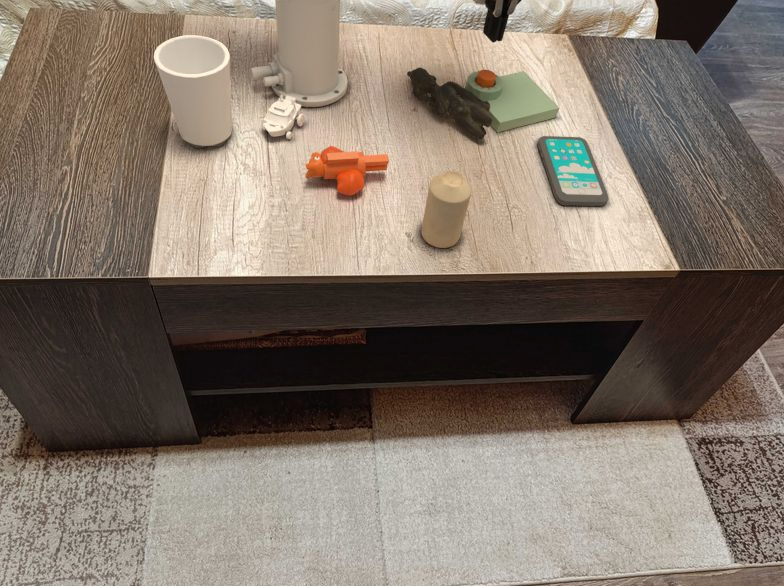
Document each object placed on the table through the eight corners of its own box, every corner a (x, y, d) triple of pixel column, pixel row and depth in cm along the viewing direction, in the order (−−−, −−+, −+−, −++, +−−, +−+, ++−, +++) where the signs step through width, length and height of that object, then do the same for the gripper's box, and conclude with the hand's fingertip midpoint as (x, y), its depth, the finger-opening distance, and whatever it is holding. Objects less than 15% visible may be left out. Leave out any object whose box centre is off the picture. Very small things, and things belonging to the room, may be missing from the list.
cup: (198, 165, 89) (181, 85, 79) (159, 130, 93) (138, 49, 82) (253, 138, 94) (245, 59, 83) (214, 106, 97) (201, 26, 87)
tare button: (482, 90, 102) (484, 81, 100) (472, 79, 103) (474, 71, 102) (497, 86, 103) (499, 78, 101) (487, 76, 104) (489, 68, 103)
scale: (492, 133, 100) (497, 115, 98) (457, 93, 106) (461, 74, 103) (556, 117, 105) (562, 99, 102) (519, 79, 110) (525, 60, 107)
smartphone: (558, 200, 91) (536, 134, 100) (556, 205, 92) (534, 139, 100) (612, 201, 93) (586, 136, 101) (609, 206, 94) (584, 141, 102)
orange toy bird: (386, 136, 88) (302, 140, 86) (395, 182, 87) (310, 189, 84) (381, 155, 93) (302, 160, 91) (390, 200, 91) (309, 206, 89)
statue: (467, 139, 95) (387, 77, 103) (482, 150, 99) (404, 91, 108) (493, 103, 93) (409, 43, 101) (506, 116, 97) (425, 58, 106)
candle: (456, 252, 85) (470, 197, 77) (417, 243, 85) (427, 188, 77) (462, 224, 88) (476, 169, 80) (424, 216, 88) (435, 160, 80)
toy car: (308, 118, 98) (307, 95, 94) (285, 147, 93) (284, 124, 90) (280, 109, 98) (278, 86, 95) (256, 138, 94) (254, 114, 90)
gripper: (556, -115, 85) (518, 18, 100) (464, -108, 80) (439, 30, 95) (588, -90, 82) (543, 43, 97) (495, -81, 77) (463, 58, 92)
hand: (492, 36), depth 96 cm, fingers closed
